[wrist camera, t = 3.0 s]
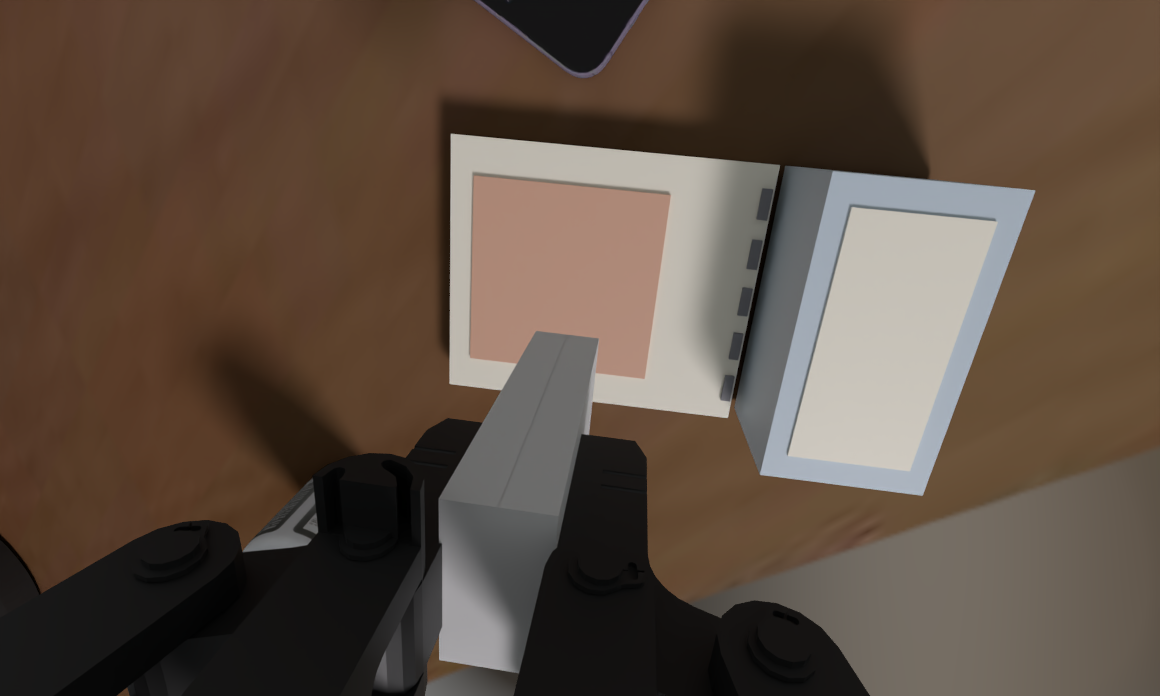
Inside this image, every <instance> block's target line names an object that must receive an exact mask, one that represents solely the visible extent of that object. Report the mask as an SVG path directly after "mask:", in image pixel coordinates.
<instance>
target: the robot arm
mask: <svg viewBox="0 0 1160 696" xmlns="http://www.w3.org/2000/svg"><path fill="white" fill-rule="evenodd" d="M598 345H599V338H591V337H583V336H575V335H566V334H558V333H550V332H541V331H536V332H535V334H534V335H533V337H532V339H531V341H530V342H529V344H528V346H527V347H526V349H525V351H524V353H523V354H522V356H521V358H520V359H519V361H518V363H517V365H516V366H515V368H514V370H513V372H512V373H511V375H510V377H509V378H508V380H507V382H506V384H505V385H504V387H503V389H502V391H501V392H500V394H499V396H498V397H497V399H496V401H495V403H494V404H493V406H492V408H491V409H490V411H489V413H488V415H487V416H486V418H485V420H484V422H483V423H480V422H473V421H465V420H458V419H450V418H447V419H445V420H444V421H442V422H440V423H438V424H437V425H435V426H433V427H431V428H430V429H428V430H427V431H426V432H425V433H424V435H423V436H422V437H421V438H420V440H419V441H418V442H417V444H416V445H415V448H414V449H412V450H411V452H410V453H409V454H408V456H407V457H406V458H404V457H400V456H396V455H393V454H377V453H368V454H362V455H357V456H351V457H347V458H344V459H341V460H339V461H336V462H334V463H331V464H328V465H327V466H325V467H324V468H323V469H321V470H320V471H318V472H317V473H316V474H314V475H313V486H314V496H315V506H316V515H317V525H318V533H317V534H316V535H315V536H314V538H313V539H312V540H311V541H310V542H309V544H308V545H304V546H298V547H292V548H282V549H270V550H259V551H248V552H242V548H241V543H240V538H239V534H238V532H237V531H236V530H235V529H233V528H232V527H230V526H229V525H228V524H226V523H221V522H215V521H210V520H202V521H189V522H182V523H178V524H174V525H170V526H167V527H163V528H159V529H157V530H154V531H152V532H150V533H148V534H146V535H144V536H142V537H139V538H137V539H135V540H133V541H131V542H129V543H128V544H126V545H124V546H123V547H121V548H119V549H117V550H116V551H114V552H112V553H110V554H109V555H107V556H105V557H104V558H102V559H100V560H98V561H97V562H95V563H93V564H92V565H90V566H88V567H86V568H85V569H83V570H81V571H80V572H78V573H76V574H74V575H73V576H71V577H69V578H68V579H66V580H64V581H62V582H61V583H59V584H57V585H55V586H54V587H52V588H50V589H49V590H47V591H45V592H43V593H42V594H40V595H39V593H38V591H37V589H36V586H35V584H34V582H33V581H32V579H31V577H30V575H29V574H28V572H27V571H26V569H25V568H24V566H23V565H22V564H21V562H20V561H19V560H18V559H17V557H16V556H15V555H14V554H13V553H12V552H11V550H10V549H9V548H8V547H7V546H6V545H5V544H4V543H3V542H2V541H1V540H0V696H117V695H118V694H119V693H121V692H122V691H123V690H124V689H126V688H128V691H129V695H130V696H425V691H426V686H427V662H428V659H429V657H430V655H431V652H432V650H433V648H434V645H435V643H436V640H437V638H438V636H439V660H443V661H449V662H455V663H461V664H467V665H473V666H479V667H486V668H491V669H498V670H503V671H510V672H515V673H519V676H518V680H517V684H516V689H515V693H514V696H870V695H869V694H868V692H867V691H866V689H865V687H864V686H863V684H862V683H861V681H860V680H859V678H858V677H857V675H856V674H855V672H854V671H853V669H852V668H851V666H850V664H849V663H848V661H847V660H846V658H845V657H844V655H843V654H842V652H841V650H840V649H839V647H838V646H837V645H836V644H835V643H834V642H833V641H832V640H831V638H830V637H829V636H828V635H827V634H826V632H825V631H824V630H823V629H822V628H821V627H820V626H818V625H817V624H815V623H814V622H813V621H811V620H810V619H808V618H807V617H805V616H804V615H802V614H801V613H800V612H797V611H794V610H792V609H790V608H787V607H784V606H782V605H780V604H777V603H770V602H762V601H750V602H745V603H741V604H736V605H734V606H733V607H732V608H731V609H730V610H728V611H727V612H726V613H725V614H724V615H722V618H719V617H717V616H714V615H712V614H709V613H707V612H705V611H703V610H700V609H698V608H696V607H693V606H692V605H690V604H688V603H686V602H684V601H682V600H680V599H678V598H677V597H676V596H675V595H673V594H672V593H671V592H669V591H668V590H667V589H666V588H665V587H664V586H663V585H662V584H661V583H660V582H659V580H658V579H657V578H656V577H655V575H654V573H653V571H652V569H651V567H650V564H649V559H648V540H647V479H646V478H647V458H646V456H645V455H644V453H643V452H642V450H641V449H640V448H639V446H638V445H637V443H636V442H635V441H630V440H623V439H615V438H608V437H600V436H593V435H589V428H590V419H591V410H592V401H593V391H594V382H595V373H596V363H597V354H598Z"/></svg>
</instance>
